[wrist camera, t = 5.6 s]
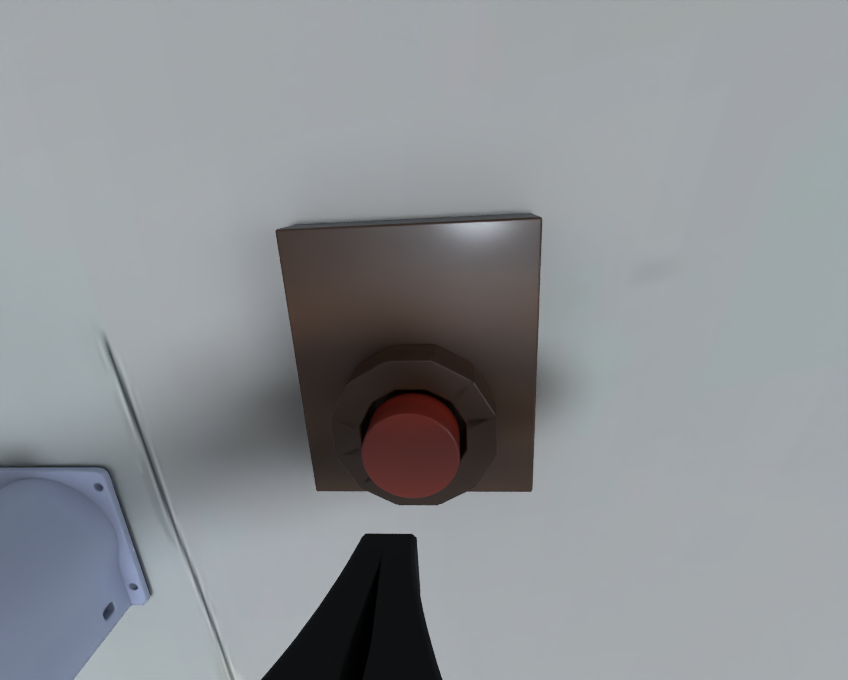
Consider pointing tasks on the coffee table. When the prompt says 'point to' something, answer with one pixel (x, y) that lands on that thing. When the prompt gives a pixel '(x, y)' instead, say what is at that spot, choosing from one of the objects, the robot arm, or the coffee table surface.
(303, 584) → the coffee table surface
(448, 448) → the button
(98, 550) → the robot arm
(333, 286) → the switch block
